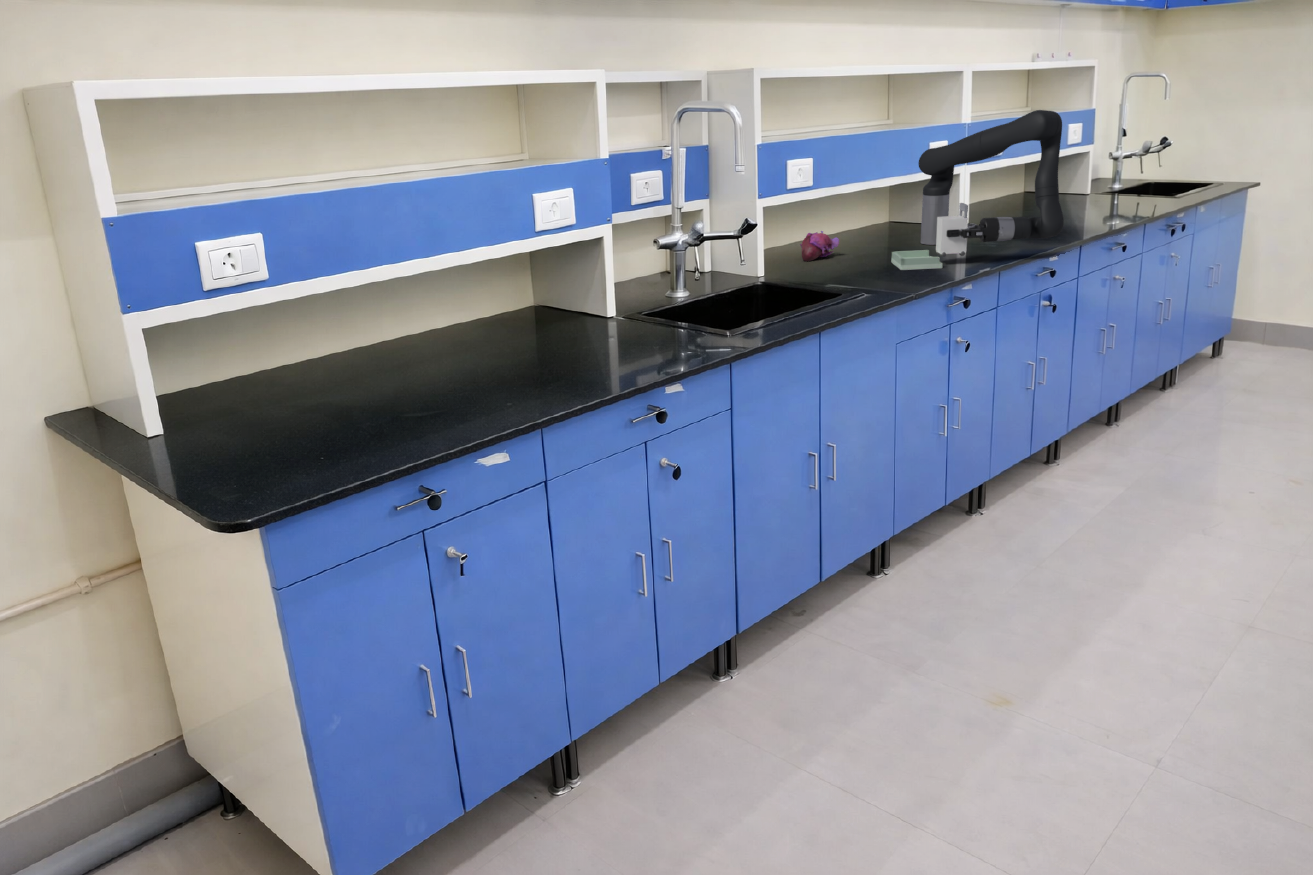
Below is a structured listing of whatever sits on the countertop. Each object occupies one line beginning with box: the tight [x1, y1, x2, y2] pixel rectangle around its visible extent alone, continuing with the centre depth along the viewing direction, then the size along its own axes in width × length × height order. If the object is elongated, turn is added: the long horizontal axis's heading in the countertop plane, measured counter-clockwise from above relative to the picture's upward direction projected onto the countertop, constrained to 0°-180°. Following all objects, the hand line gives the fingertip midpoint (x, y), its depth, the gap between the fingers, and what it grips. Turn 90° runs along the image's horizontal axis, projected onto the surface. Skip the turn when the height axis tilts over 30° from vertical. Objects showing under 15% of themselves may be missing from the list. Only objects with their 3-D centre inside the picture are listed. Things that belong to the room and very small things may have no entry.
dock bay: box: [890, 249, 943, 271], centre depth 316 cm, size 14×13×4 cm
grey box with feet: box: [935, 202, 969, 258], centre depth 313 cm, size 6×8×16 cm
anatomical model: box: [799, 230, 840, 262], centre depth 336 cm, size 12×10×15 cm
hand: (944, 232), depth 313 cm, fingers closed on grey box with feet, 6 cm apart
